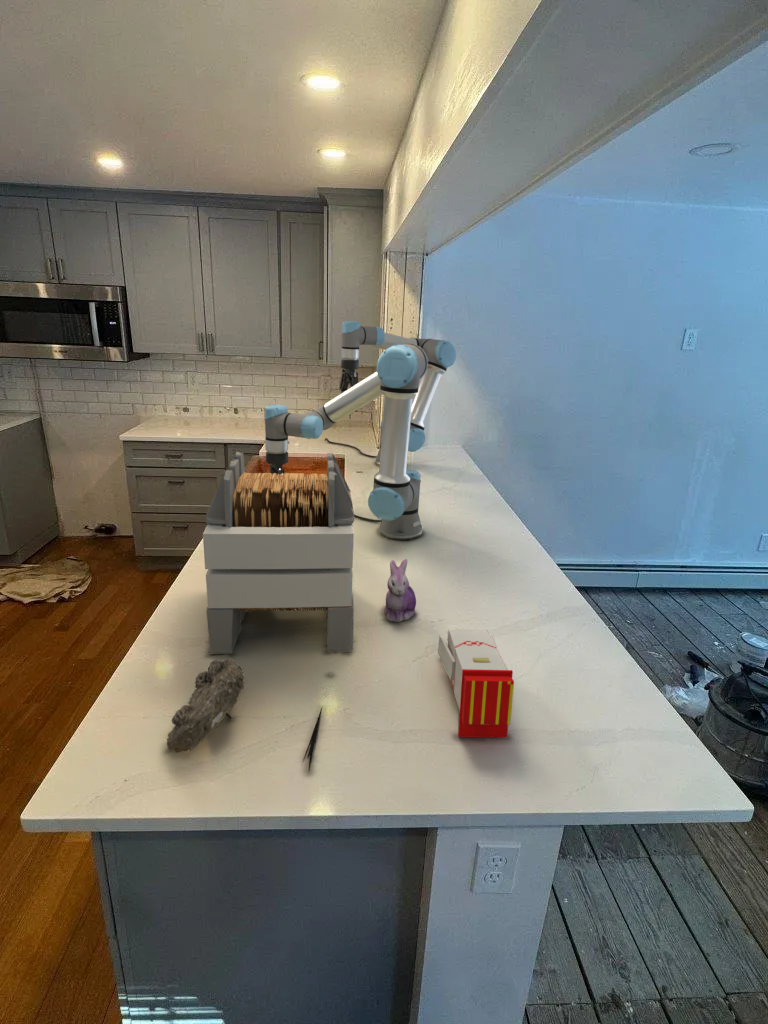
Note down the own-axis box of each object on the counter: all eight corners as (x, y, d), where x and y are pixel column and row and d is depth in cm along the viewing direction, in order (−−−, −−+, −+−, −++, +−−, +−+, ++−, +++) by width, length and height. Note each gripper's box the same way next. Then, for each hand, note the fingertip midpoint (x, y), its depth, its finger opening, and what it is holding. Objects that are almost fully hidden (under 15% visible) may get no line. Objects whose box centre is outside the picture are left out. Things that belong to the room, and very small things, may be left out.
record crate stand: (229, 585, 158) (221, 442, 144) (346, 584, 161) (350, 444, 148) (206, 656, 126) (193, 481, 112) (353, 652, 130) (358, 483, 116)
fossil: (192, 660, 117) (244, 628, 112) (224, 691, 120) (276, 661, 115) (142, 746, 98) (202, 712, 93) (182, 779, 101) (242, 748, 96)
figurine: (392, 627, 141) (395, 572, 136) (374, 608, 149) (376, 556, 144) (425, 619, 145) (429, 566, 140) (405, 601, 154) (408, 550, 149)
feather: (331, 679, 122) (336, 673, 122) (307, 777, 96) (313, 769, 95) (324, 675, 122) (329, 669, 121) (298, 772, 95) (304, 764, 95)
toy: (488, 613, 130) (523, 677, 101) (484, 667, 133) (517, 744, 104) (435, 612, 130) (455, 676, 101) (432, 666, 133) (451, 743, 103)
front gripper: (294, 457, 186) (295, 523, 194) (281, 444, 202) (283, 506, 209) (271, 458, 183) (273, 525, 191) (260, 445, 199) (262, 508, 207)
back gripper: (368, 362, 233) (367, 413, 240) (348, 356, 255) (347, 404, 262) (351, 362, 230) (350, 414, 237) (332, 356, 252) (332, 404, 259)
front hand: (278, 515), depth 200 cm, fingers closed on pill bottle, 5 cm apart
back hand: (349, 408), depth 250 cm, fingers open, 13 cm apart
